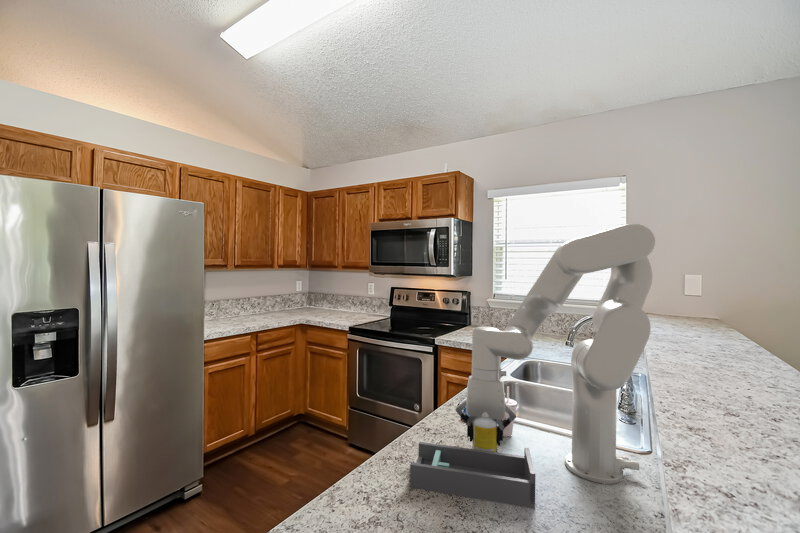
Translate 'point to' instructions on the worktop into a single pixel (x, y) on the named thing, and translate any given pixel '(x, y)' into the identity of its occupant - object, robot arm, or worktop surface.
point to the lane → (476, 474)
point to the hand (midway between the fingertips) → (484, 440)
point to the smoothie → (512, 406)
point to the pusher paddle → (439, 460)
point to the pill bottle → (485, 433)
